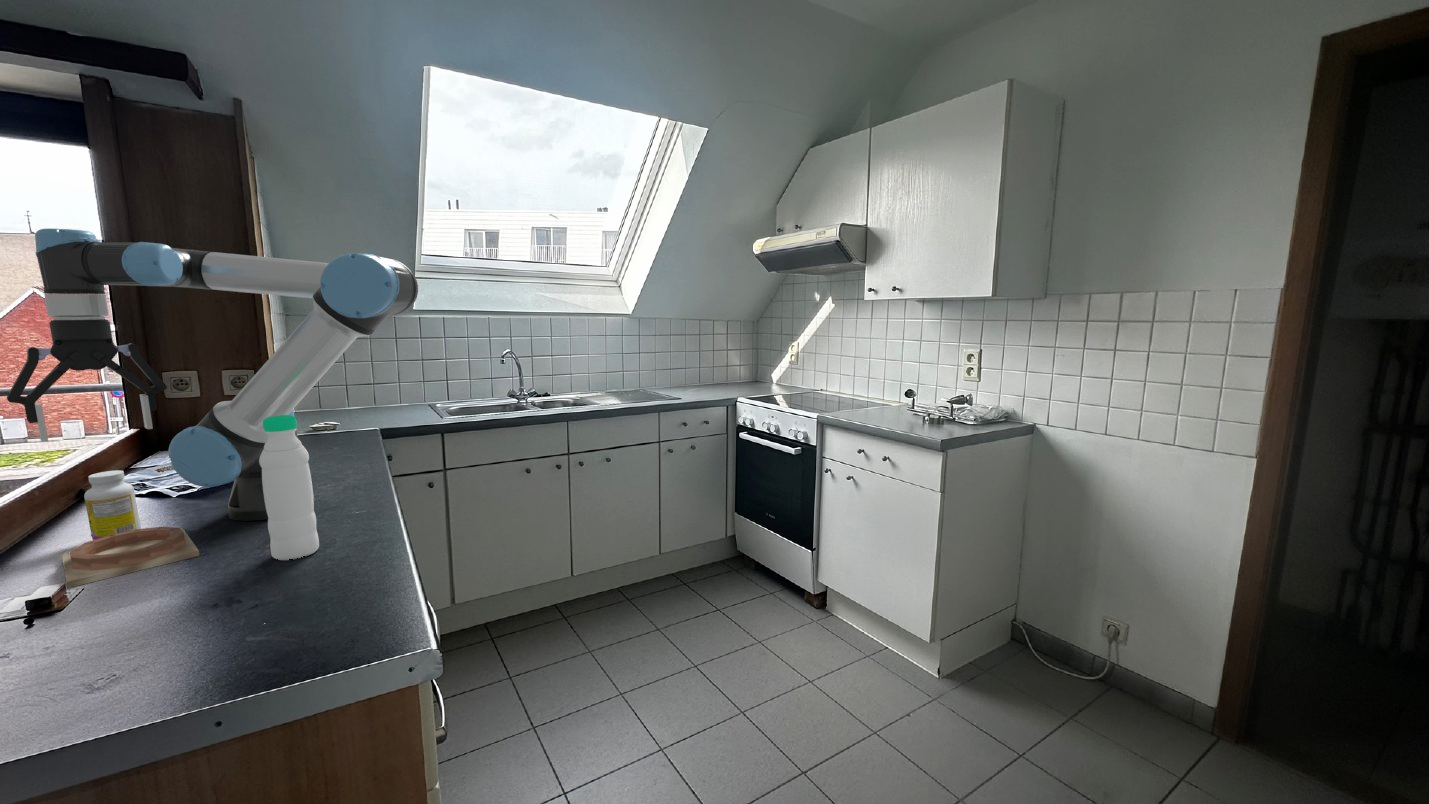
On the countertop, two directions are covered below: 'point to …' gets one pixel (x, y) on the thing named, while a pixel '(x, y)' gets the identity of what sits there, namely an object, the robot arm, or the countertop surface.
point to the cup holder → (126, 554)
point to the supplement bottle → (111, 504)
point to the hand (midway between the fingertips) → (99, 434)
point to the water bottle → (287, 490)
